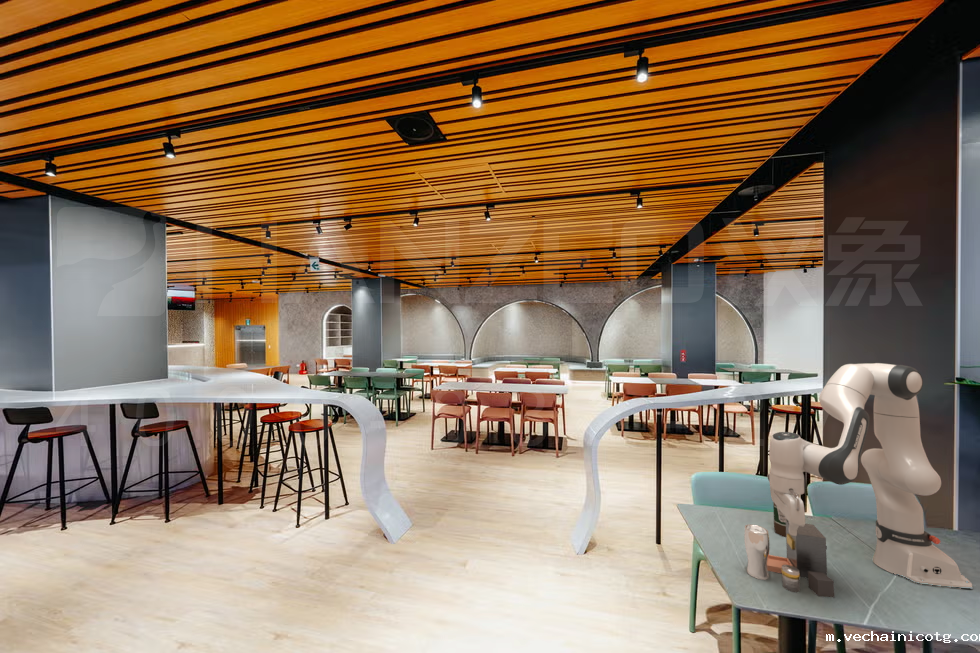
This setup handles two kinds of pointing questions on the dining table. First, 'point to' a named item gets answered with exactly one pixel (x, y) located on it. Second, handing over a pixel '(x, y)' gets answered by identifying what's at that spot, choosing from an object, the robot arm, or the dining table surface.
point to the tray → (777, 563)
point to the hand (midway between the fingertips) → (787, 527)
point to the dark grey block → (807, 550)
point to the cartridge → (790, 578)
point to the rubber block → (821, 584)
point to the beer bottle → (778, 523)
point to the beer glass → (757, 551)
